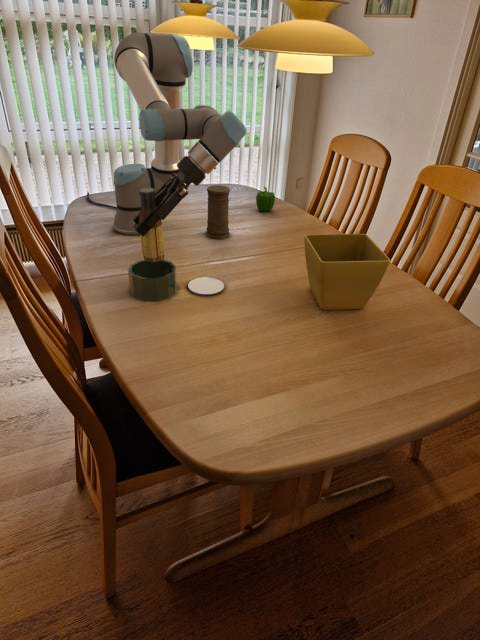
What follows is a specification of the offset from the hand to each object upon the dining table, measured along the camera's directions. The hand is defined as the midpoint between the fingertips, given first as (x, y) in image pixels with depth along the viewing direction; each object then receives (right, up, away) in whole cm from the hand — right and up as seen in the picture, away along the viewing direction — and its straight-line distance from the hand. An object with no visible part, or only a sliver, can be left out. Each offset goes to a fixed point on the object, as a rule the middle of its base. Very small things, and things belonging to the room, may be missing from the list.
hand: (138, 228), depth 119 cm
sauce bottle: (+3, -8, +6) cm, 10 cm away
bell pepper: (+39, +24, +77) cm, 89 cm away
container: (+19, +8, +50) cm, 54 cm away
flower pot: (+56, -19, +11) cm, 60 cm away
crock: (+2, -16, +11) cm, 20 cm away
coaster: (+17, -15, +14) cm, 27 cm away
